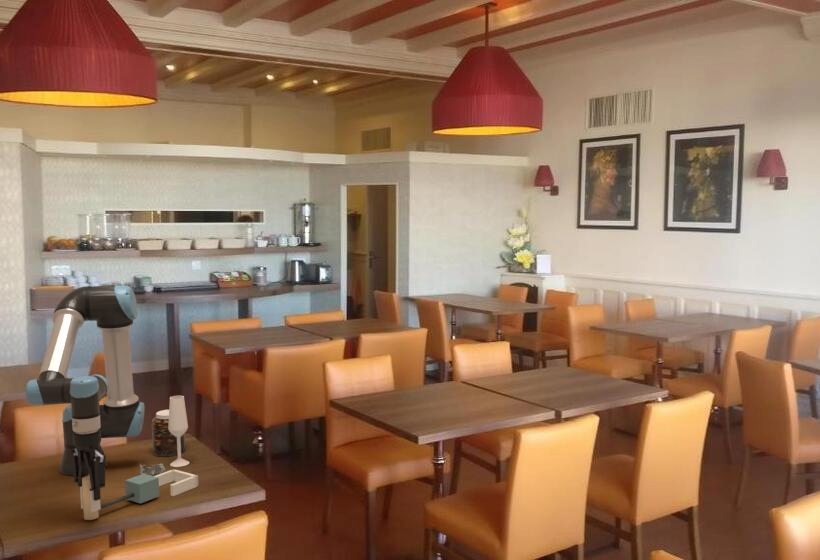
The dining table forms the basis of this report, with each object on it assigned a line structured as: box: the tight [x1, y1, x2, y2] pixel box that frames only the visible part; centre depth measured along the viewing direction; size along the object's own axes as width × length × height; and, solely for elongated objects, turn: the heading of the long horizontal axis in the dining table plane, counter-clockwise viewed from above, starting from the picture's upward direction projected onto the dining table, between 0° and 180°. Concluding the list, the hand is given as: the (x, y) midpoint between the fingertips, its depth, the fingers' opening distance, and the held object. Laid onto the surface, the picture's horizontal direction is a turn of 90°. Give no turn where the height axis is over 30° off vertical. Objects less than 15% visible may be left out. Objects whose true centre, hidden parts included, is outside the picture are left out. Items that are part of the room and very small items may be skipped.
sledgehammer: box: [82, 474, 160, 521], centre depth 235 cm, size 7×24×12 cm, turn 147°
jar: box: [151, 409, 186, 458], centre depth 288 cm, size 12×12×15 cm
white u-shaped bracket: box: [154, 468, 200, 497], centre depth 252 cm, size 12×10×4 cm
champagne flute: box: [168, 395, 190, 468], centre depth 275 cm, size 7×7×24 cm
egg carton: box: [139, 463, 166, 476], centre depth 262 cm, size 11×8×4 cm
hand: (90, 508), depth 227 cm, fingers closed on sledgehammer, 4 cm apart
